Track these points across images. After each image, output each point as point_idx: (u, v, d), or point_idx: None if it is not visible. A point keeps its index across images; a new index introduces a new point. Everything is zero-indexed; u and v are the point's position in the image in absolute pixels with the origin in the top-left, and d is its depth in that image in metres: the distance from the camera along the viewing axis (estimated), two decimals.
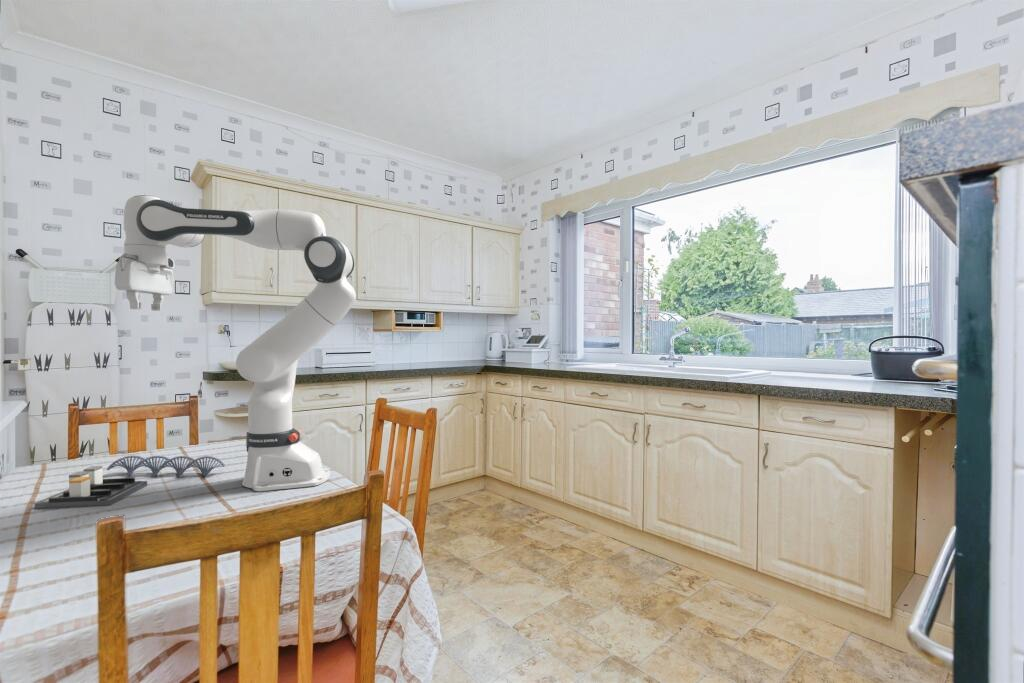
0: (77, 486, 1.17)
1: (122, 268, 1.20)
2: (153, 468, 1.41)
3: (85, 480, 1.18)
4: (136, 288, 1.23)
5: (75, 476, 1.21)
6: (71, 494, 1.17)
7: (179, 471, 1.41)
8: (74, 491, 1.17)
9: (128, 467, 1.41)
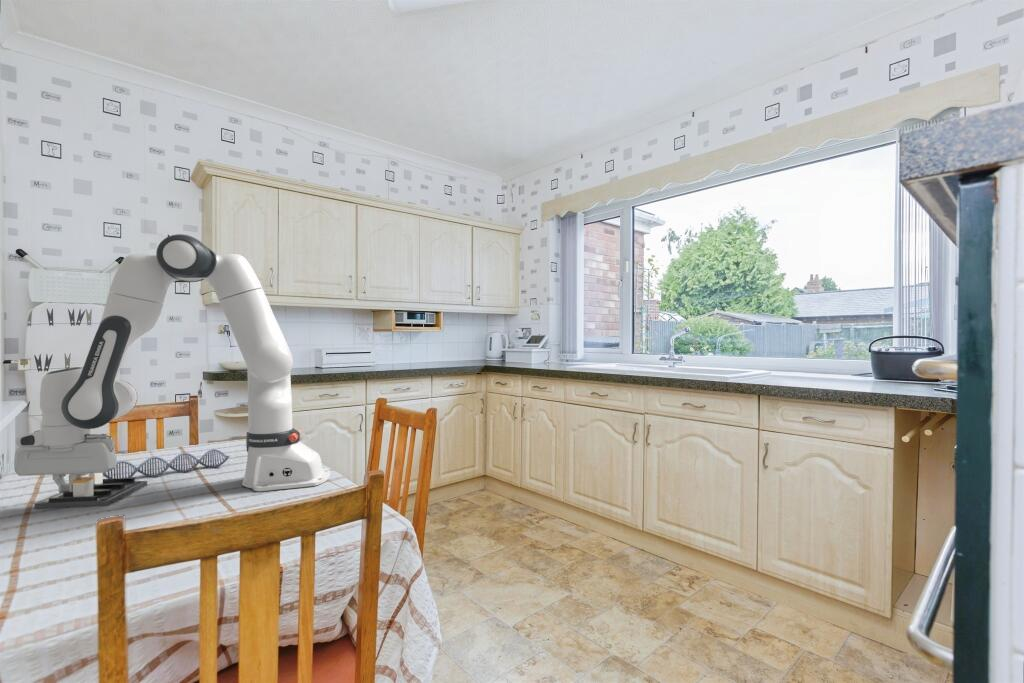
0: (80, 486, 1.17)
1: (112, 449, 1.19)
2: (150, 470, 1.39)
3: (89, 480, 1.19)
4: None
5: None
6: (75, 494, 1.17)
7: (184, 467, 1.44)
8: (78, 491, 1.17)
9: (117, 473, 1.35)
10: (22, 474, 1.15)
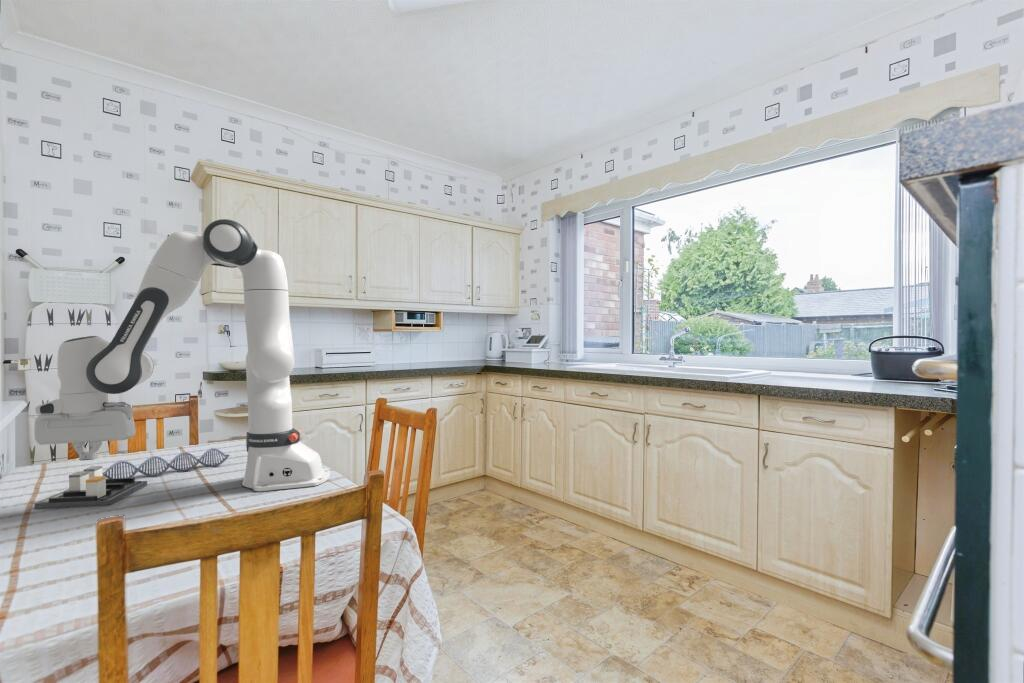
0: (93, 486, 1.17)
1: (131, 417, 1.20)
2: (151, 469, 1.40)
3: (101, 479, 1.19)
4: None
5: (75, 476, 1.21)
6: (88, 493, 1.17)
7: (184, 466, 1.45)
8: (90, 490, 1.17)
9: (118, 473, 1.35)
10: (43, 443, 1.16)
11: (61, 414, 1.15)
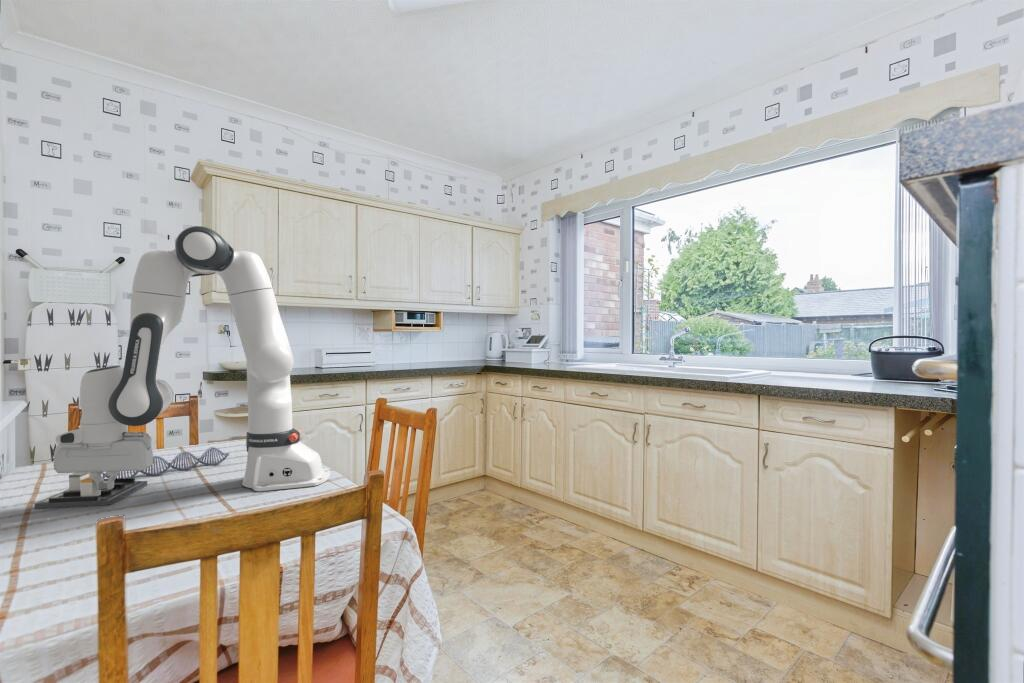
0: (88, 486, 1.17)
1: (149, 447, 1.20)
2: (152, 468, 1.40)
3: None
4: None
5: (75, 476, 1.21)
6: (82, 493, 1.17)
7: (185, 465, 1.46)
8: (85, 491, 1.17)
9: (119, 473, 1.35)
10: (61, 471, 1.16)
11: (81, 443, 1.16)
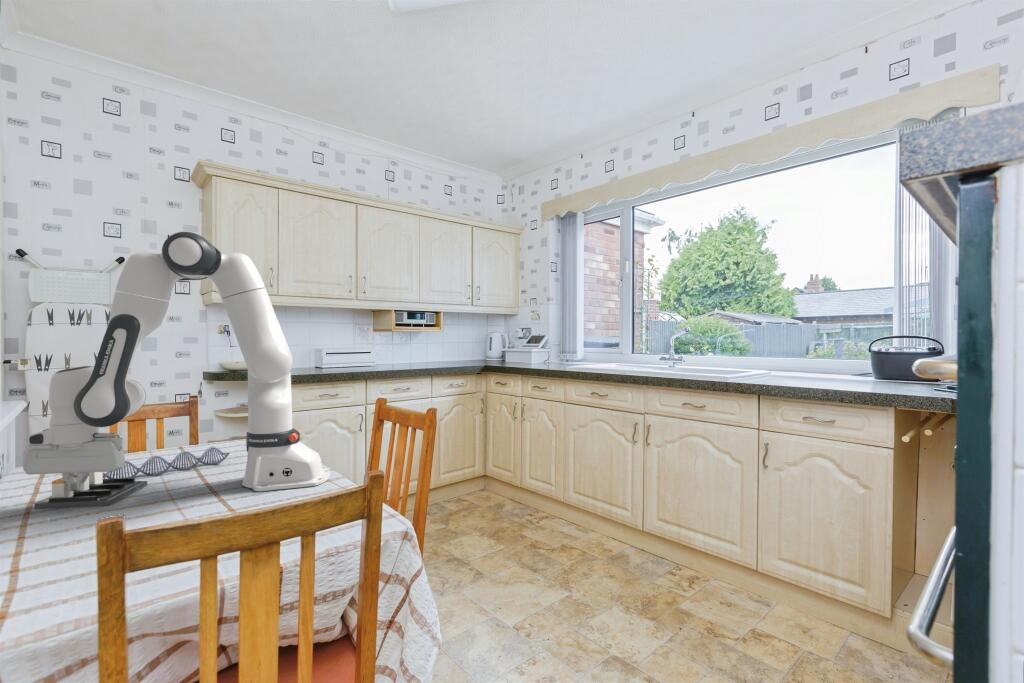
0: (59, 487, 1.16)
1: (121, 448, 1.19)
2: (152, 468, 1.41)
3: None
4: None
5: (75, 476, 1.21)
6: (54, 494, 1.16)
7: (185, 465, 1.46)
8: (57, 492, 1.16)
9: None
10: (31, 473, 1.15)
11: (50, 445, 1.15)
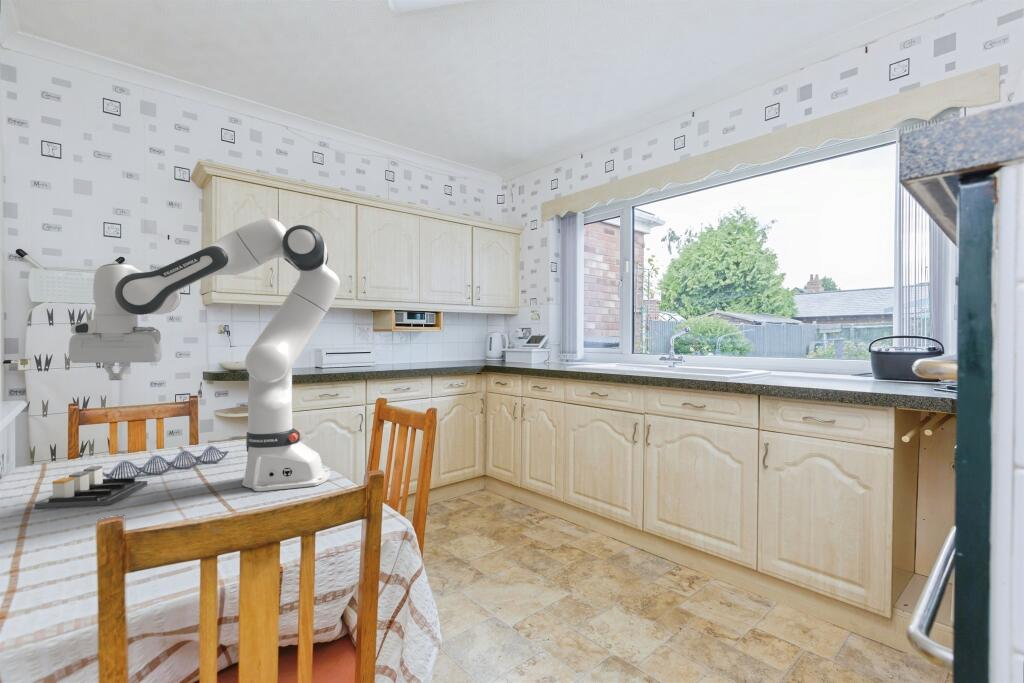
0: (60, 487, 1.16)
1: (159, 342, 1.27)
2: (153, 468, 1.41)
3: (69, 481, 1.18)
4: None
5: (75, 476, 1.21)
6: (55, 494, 1.16)
7: (185, 464, 1.47)
8: (57, 492, 1.16)
9: (122, 473, 1.35)
10: (76, 361, 1.23)
11: (94, 334, 1.23)
